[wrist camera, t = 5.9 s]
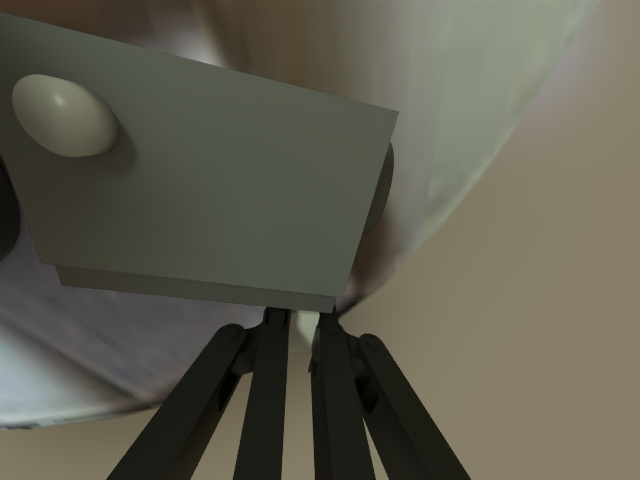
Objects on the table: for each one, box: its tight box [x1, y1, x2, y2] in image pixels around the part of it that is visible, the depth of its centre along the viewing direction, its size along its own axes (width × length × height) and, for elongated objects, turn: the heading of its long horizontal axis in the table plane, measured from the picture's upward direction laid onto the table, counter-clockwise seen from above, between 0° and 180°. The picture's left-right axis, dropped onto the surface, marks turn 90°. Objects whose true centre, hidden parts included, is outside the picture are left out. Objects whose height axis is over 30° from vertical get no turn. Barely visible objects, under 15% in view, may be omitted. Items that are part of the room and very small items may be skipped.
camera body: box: [0, 12, 399, 313], centre depth 11 cm, size 12×8×10 cm, turn 79°
